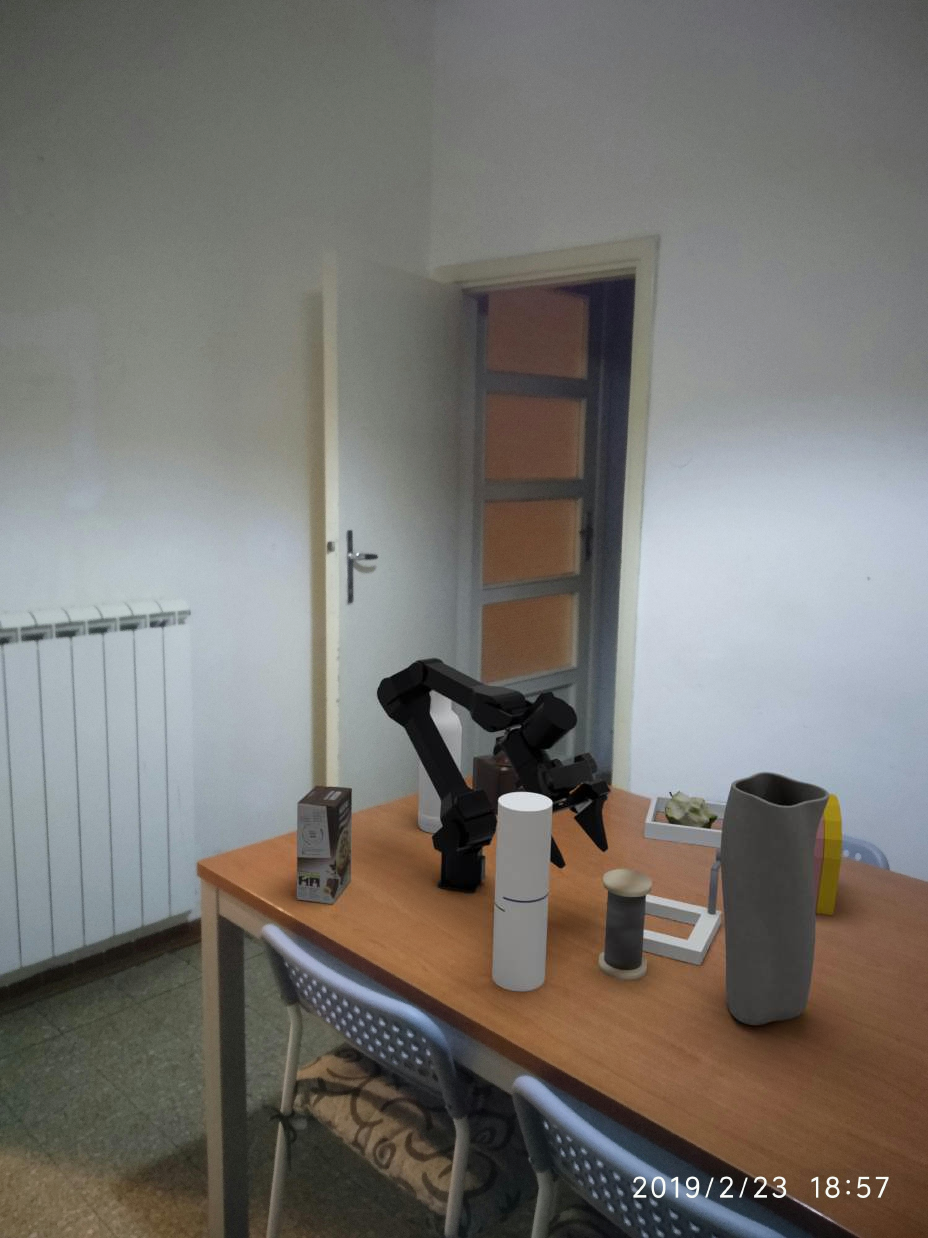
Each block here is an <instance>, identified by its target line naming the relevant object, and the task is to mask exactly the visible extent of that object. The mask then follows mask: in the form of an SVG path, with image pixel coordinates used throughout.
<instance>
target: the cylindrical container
mask: <svg viewBox="0 0 928 1238" xmlns="http://www.w3.org/2000/svg"><path fill="white" fill-rule="evenodd" d="M552 822H553V814H552V800H551V799H549V798H548V797H546V796H544V795H541V794H536V793H530V792H514V793H508V794H505V795H502V796H501V797H500V798H499V799H498V815H497V826H496V852H495V853H496V854H495V883H494V908H493V909H494V912H493V913H494V915H493V940H492V941H493V942H492V943H493V944H492V966H491V967H492V970H491V971H492V972H491V975H492V976H491V977H492V980H493V982H494V983H495V984H496V985H497V986H498V987H501V988H503V989H505V990H508V991H511V992H529V991H534V990H537V989H538V988H540V987H541V986H542V985H544V982H545V978H546V960H547V959H546V957H547V940H548V939H547V937H548V936H547V935H548V914H549V913H548V912H549V890H550V887H549V886H550V870H551V869H550V868H551V862H550V850H551V835H552V827H553V826H552V824H553V823H552Z"/></svg>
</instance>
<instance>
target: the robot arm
mask: <svg viewBox="0 0 928 1238" xmlns="http://www.w3.org/2000/svg"><path fill="white" fill-rule="evenodd" d="M376 689H377V690H376V697H377V701H378V702H379V705H380V706H381V707H382V709H383V710H384V713H386V715H387V716H388V717H389V719H391V720H392V721H394V722H395V723H397V724H398V725H399V726H401V727H402V728H404V730H405V732H406V734H407V737H409V740H410V742H411V744H412V746H413V748H414V750H415V752H416V753H417V756H418V757H419V761H420V760H421V762H422V764H423V766H424V768H425V770H426V772H427V774H428V776H429V778H430V780H431V782H432V784H433V786H434V788H435V790H436V791H437V793H438V795H439V797H440V800H441V809H440V821H441V823H442V827H441V828H440V829H439V830H438V831H437V832H436V833H435V834H434V833H433V835H432V836H431V841H432V845H433V849H434V850H435V851H437V852H439V853H440V855H441V856H440V879H439V880H438V882H437V883H436V885H437V888H441V889H443V888H444V889H446V890H453V891H454V890H456V891H461V892H466V893H467V892H468V893H475V892H476V891H477V890H478V889H479V887H480V886H481V885H482V884H483V883H484V881H485V878H486V860H487V859H486V855H485V854H484V855H483V852H484V851H483V849H484V848H483V847H487V846H488V847H489V846H490V845H491V843H492V840H493V838H494V836H495V834H496V832H497V822H498V817H497V815H496V814H495V813H494V811H495V808H494V807H493V806H492V805H491V803H490V801H489V799H488V797H487V794H486V792H485V791H484V790H483V789H480V790H477V791H474V790H472V787H469V786H468V784H467V782H466V781H465V779H464V777H463V775H462V773H460V771H459V769H458V767H457V765H456V763H455V761H454V759H453V757H452V755H451V753H450V752H449V750H448V748H447V746H446V744H445V742H444V740H443V738H442V736H441V734H440V732H439V730H438V729H437V727H436V725H435V723H434V721H433V719H432V717H431V715H430V710H431V707H432V695H431V694H430V693H432V691H433V690H434V691H436V692H437V693H439V694H441V695H443V696H445V697H446V698H448V699H450V700H451V702H454V703H456V704H457V705H460V707H463V708H464V709H466V710H467V711H468V712H469V715H470V717H471V720H472V721H473V722H474V723H476V724H477V725H478V726H479V727H480V728H481V729H482V730H484V731H486V732H487V733H497V732H501V731H505V730H506V729H510V728H511V730H510V732H509V733H508V734H507V735H500V736H497V737H495V744H494V747H493V749H492V750H493V751H492V754H494V755H495V756H496V755H500V754H504V753H505V755H506V757H507V759H508V761H509V762H510V764H511V766H512V768H513V770H514V772H515V773H516V775H517V777H518V779H519V780H518V781H517V782H516V783H515V785H516V787H517V789H520V788H524V790H525V792H530V793H536V794H541V795H544V796H546V797H548V798H549V799H551V800H552V815H553V814H556V813H559V812H561V811H565V810H568V809H569V810H570V811H571V812H573V814H576V815H574V817H573V819H574V821H576V823H577V824H578V826H579V827H580V828H581V829H582V830H583V831H584V832H585V834H586V835H587V836H588V837H589V839H590V840H591V841H592V842H593V844H594V845H595V846H596V847H597V848H598V849H599V850H600V851H601V852H602V853H606V852H607V851H608V850H609V844H608V839H607V834H606V833H607V832H606V830H605V825H604V819H603V816H604V815H603V809H604V805H605V802H607V801H608V798H609V797H608V795H609V794H611V793H612V791H611V789H610V787H609V786H608V784H607V782H606V780H605V779H603V778H602V779H601V778H599V777H598V778H594V776H593V775H594V774H596V773H597V772H598V765H597V763H596V761H595V759H594V758H593V756H592V755H591V753H590V752H585V753H582V754H577V755H575V756H574V757H573V758H574V759H573V762H572V763H568V764H565V765H564V764H563V762H562V761H561V760H560V759H559V758H554V759H552V758H551V755H549V753H548V751H547V750H551V749H552V748H555V746H557V744H558V743H560V742H561V741H562V740H563V739H564V738H565V737H566V736H567V735H568V734H570V732H571V731H572V730H573V729H574V728H575V727H576V726H577V724H578V723H577V722H578V717H577V713H576V711H575V709H574V707H573V706H571V705H569V703H568V702H566V700H564V699H562V698H559V697H557V696H555V694H554V693H553V691H552V690H550V691H549V690H548V691H544V692H541V693H540V694H539V695H538V696H537V697H536V699H535V701H534V702H533V701H531V700H529V699H526V697H525V695H524V694H523V693H522V692H521V691H519V690H516V689H512V688H509V687H505V686H496V685H488V684H485V683H483V682H481V681H478V680H476V679H475V678H474V677H470V676H469V675H467V674H466V673H463V672H462V671H459V670H458V669H455V668H454V667H452V666H450V665H448V664H446V663H445V662H444V661H443V660H442V659H440V658H437V657H430V658H424V659H419V660H415V662H412V663H411V664H410V665H408V666H407V667H406V668H404V669H402V670H400V671H398V672H396V673H395V674H392V675H390V676H388V677H383V678H382V679H381V681H380V683H379V685H378V687H377V688H376ZM571 791H572V792H571ZM570 792H571V793H570ZM550 863H551V864H553V865H554V866H556V867H557V868H558V869H560V870H561V869H564V867H566V866H567V865H566V862H565V859H564V856H563V854H562V852H561V850H560V848H559V847H558V844H557V842H556V841H555V839H554V836H553V834H551V850H550Z"/></svg>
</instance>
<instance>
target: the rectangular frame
mask: <svg viewBox="0 0 928 1238" xmlns="http://www.w3.org/2000/svg"><path fill="white" fill-rule="evenodd" d="M720 869H721V848H716V852H715V861H714V863H713V865H712V866H711V868H710V876H709V887H708V888H709V889H708V900H707V901H708V903H707V907H704V906H700V905H695V904H691V903H688V902H687V903H686V902H684V901H683V902H682V901H678V900H674V899H670V898H665V897H660V896H656V895H653V894H652V895H651V894H647V895H646V904H645V915H650V916H655V917H660V918H663V919H667V918H668V920H672V921H675V920H676V921H675V922H679V923H685V924H690V925H693V926H694V927H693V929H692V931H691V932H690V935H689V937H688V939H685V938H680V937H676V936H672V935H668V934H664V933H661V932H656V931H652V930H649V929H644V936H643V952H647V953H651V954H652V955H653V954H654V955H658V956H662V957H666V958H669V959H673V960H677V961H682V962H686V963H689V964H693V965H698V966H701V965H702V963H703V961H704V959H705V957H706V955H707V952H708V950H709V948H710V946H711V944H712V942H713V941H714V938H715V936H716V934H717V932H718V930H719V928H720V926H721V922H722V911H721V910H717V900H718V899H717V898H718V890H719V889H718V887H719V875H720V874H719V873H720ZM605 932H606V927H605V928H604V933H605Z"/></svg>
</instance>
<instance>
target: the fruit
mask: <svg viewBox="0 0 928 1238" xmlns="http://www.w3.org/2000/svg"><path fill="white" fill-rule="evenodd" d="M668 793H669V795H670V797H672V799H671V800H669V801H668V802H667V804H666V806H665V812H664V816H665V819H666V820H667V821H668V824H675V825H683V826H691V827H698V828H706V829H712V825H713V824H714V822H715V821H716V820H717V817H718V816H717V815H715V814H714V813H713V812H712V811H710V810H709V808H708V806H707V805H706V803H705V801H706V800H705V799H704V798H703V797H698V796H692V797H691V796H689V795H687V794H685V793H684V792H682V791H681V790H678V791H677V792H676V793H674V794H672V792H671V791H669V792H668Z"/></svg>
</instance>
